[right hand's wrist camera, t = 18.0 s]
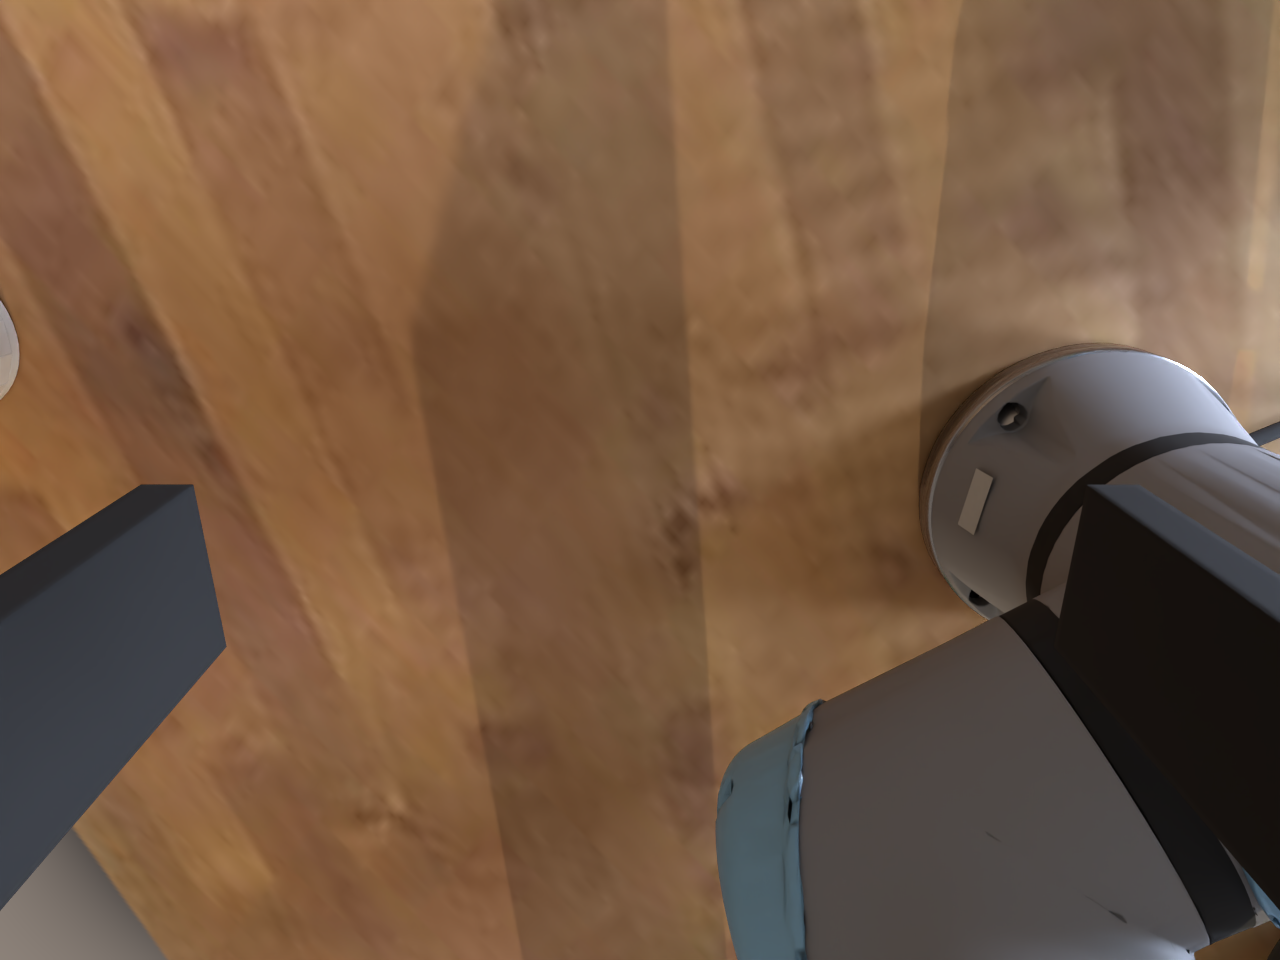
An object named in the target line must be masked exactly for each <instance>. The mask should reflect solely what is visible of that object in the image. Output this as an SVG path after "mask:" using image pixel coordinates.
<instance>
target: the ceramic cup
mask: <svg viewBox="0 0 1280 960" xmlns="http://www.w3.org/2000/svg"><path fill="white" fill-rule="evenodd" d="M19 356H20V354H19V343H18V338H17V334H16V331H15V328H14V325H13V322H12V320H11V318H10V316H9V314H8V312H7V310H6V308H5V307H4V305H3V303H2V302H1V301H0V399H2V398H3V397H4V395H5V394H6V393H7V392H8V391H9V389H10V387H11V386H12V384H13V382H14V380H15V377H16V375H17V371H18V367H19Z"/></svg>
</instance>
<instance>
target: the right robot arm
mask: <svg viewBox="0 0 1280 960" xmlns="http://www.w3.org/2000/svg"><path fill="white" fill-rule="evenodd" d="M1278 438H1280V422H1277V423H1275V424H1272V425H1270V426H1267V427H1265V428H1263V429H1260V430H1258V431H1255V432H1253V433H1250V434H1248V433H1247V432H1246V431H1245V429H1244V428H1243V427H1242V426H1241V425H1240V423H1239V422H1238V421H1237V419H1236V417H1235V416H1234V415H1233V414H1232V412H1231V410H1230V409H1229V407H1228V406H1227V404H1226V403H1225V402H1224V400H1223V399H1222V398H1221V397H1220V396H1219V394H1218V393H1217V392H1216V391H1215V390H1214V389H1213V388H1212V387H1211V386H1210V385H1209V384H1208V383H1207V382H1206V381H1205V380H1204V379H1202V378H1201V377H1200V376H1198V375H1197V374H1196V373H1194V372H1193V371H1191V370H1190V369H1188V368H1186V367H1184V366H1182V365H1180V364H1178V363H1176V362H1174V361H1171V360H1168V359H1166V358H1163V357H1161V356H1158V355H1155V354H1152V353H1150V352H1147V351H1144V350H1141V349H1138V348H1134V347H1130V346H1125V345H1118V344H1109V343H1086V344H1076V345H1069V346H1064V347H1060V348H1056V349H1051V350H1048V351H1045V352H1042V353H1039V354H1036V355H1033V356H1031V357H1029V358H1027V359H1024V360H1022V361H1020V362H1018V363H1016V364H1014V365H1012V366H1010V367H1009V368H1007V369H1005V370H1003V371H1002V372H1000V373H999V374H997V375H996V376H994V377H993V378H991V379H990V380H989V381H987V382H986V383H985V384H984V385H982V386H981V387H980V388H978V389H977V390H976V391H975V392H974V393H973V394H972V395H971V396H970V397H969V398H968V399H967V400H966V401H965V402H964V403H963V404H962V405H961V406H960V407H959V408H958V410H957V411H956V412H955V413H954V415H953V416H952V417H951V418H950V420H949V421H948V422H947V424H946V425H945V427H944V429H943V430H942V432H941V433H940V435H939V437H938V439H937V441H936V442H935V444H934V446H933V448H932V451H931V453H930V456H929V458H928V461H927V463H926V467H925V470H924V474H923V477H922V483H921V488H920V498H919V517H920V524H921V531H922V534H923V538H924V542H925V545H926V547H927V550H928V552H929V555H930V557H931V558H932V560H933V562H934V564H935V566H936V567H937V569H938V570H939V572H940V573H941V574H942V576H943V577H944V579H945V580H946V581H947V583H948V584H949V585H950V587H951V588H952V589H953V591H954V592H955V593H956V594H957V595H958V596H959V597H960V599H961V600H962V601H964V602H965V603H966V604H967V605H968V606H969V607H970V608H971V609H973V610H974V611H976V612H977V613H978V614H980V615H981V616H983V617H985V618H986V619H988V621H986V622H984V623H983V624H981V625H979V626H977V627H975V628H973V629H971V630H969V631H967V632H965V633H963V634H961V635H959V636H958V637H956V638H954V639H952V640H950V641H948V642H946V643H944V644H942V645H940V646H938V647H936V648H934V649H932V650H930V651H928V652H926V653H924V654H922V655H920V656H918V657H916V658H914V659H912V660H910V661H907V662H905V663H903V664H901V665H899V666H897V667H895V668H893V669H891V670H889V671H887V672H885V673H883V674H881V675H879V676H877V677H875V678H873V679H871V680H869V681H867V682H865V683H863V684H861V685H859V686H857V687H855V688H853V689H851V690H849V691H847V692H845V693H843V694H841V695H839V696H837V697H835V698H833V699H831V700H828V701H824V700H822V699H819V700H816V701H814V702H811V703H810V704H808V705H807V706H806V707H805V708H804V709H803V711H802V713H801V715H799V716H797V717H796V718H794V719H792V720H790V721H789V722H787V723H785V724H784V725H782V726H780V727H778V728H777V729H775V730H773V731H771V732H770V733H768V734H766V735H764V736H763V737H761V738H759V739H757V740H755V741H754V742H752V743H750V744H748V745H747V746H746V747H744V748H743V749H742V750H741V751H740V752H739V753H738V754H737V755H736V756H735V757H734V758H733V760H732V761H731V763H730V764H729V766H728V768H727V770H726V772H725V774H724V776H723V779H722V782H721V786H720V790H719V794H718V804H717V819H716V850H717V862H718V870H719V878H720V884H721V890H722V896H723V902H724V907H725V911H726V916H727V921H728V925H729V929H730V933H731V937H732V941H733V945H734V949H735V952H736V956H737V959H738V960H1195V958H1194V952H1196V951H1198V950H1200V949H1202V948H1204V947H1206V946H1208V945H1211V944H1213V943H1214V942H1217V941H1219V940H1222V939H1224V938H1227V937H1229V936H1232V935H1234V934H1237V933H1239V932H1242V931H1244V930H1247V929H1249V928H1252V927H1256V926H1259V925H1261V924H1263V923H1266V922H1268V921H1272V923H1273V924H1274V925H1275V926H1276V927H1277V928H1279V929H1280V455H1278V454H1275V453H1273V452H1271V451H1269V450H1266V449H1264V448H1262V447H1260V446H1261V445H1263V444H1266V443H1268V442H1271V441H1273V440H1276V439H1278ZM225 648H226V642H225V637H224V632H223V627H222V622H221V618H220V613H219V608H218V603H217V598H216V593H215V588H214V583H213V579H212V574H211V569H210V564H209V559H208V554H207V549H206V545H205V540H204V535H203V530H202V525H201V520H200V515H199V510H198V506H197V501H196V496H195V491H194V486H193V485H140V486H138V487H137V488H135V489H133V490H132V491H130V492H129V493H127V494H126V495H124V496H123V497H121V498H119V499H118V500H116V501H115V502H113V503H112V504H110V505H109V506H107V507H105V508H104V509H102V510H101V511H99V512H98V513H96V514H95V515H93V516H91V517H90V518H88V519H87V520H85V521H84V522H82V523H81V524H79V525H77V526H76V527H74V528H73V529H71V530H70V531H68V532H67V533H65V534H63V535H62V536H60V537H59V538H57V539H56V540H54V541H53V542H51V543H49V544H48V545H46V546H45V547H43V548H42V549H40V550H39V551H37V552H35V553H34V554H32V555H31V556H29V557H28V558H26V559H25V560H23V561H21V562H20V563H18V564H17V565H15V566H14V567H12V568H11V569H9V570H7V571H6V572H4V573H3V574H1V575H0V910H1V909H2V908H3V907H4V906H5V904H6V903H7V902H8V901H9V900H10V899H11V898H12V896H13V895H14V894H15V893H16V892H17V891H18V889H19V888H20V887H21V886H22V885H23V883H24V882H25V881H26V880H27V879H28V878H29V876H30V875H31V874H32V873H33V872H34V871H35V869H36V868H37V867H38V866H39V865H40V864H41V862H42V861H43V860H44V859H45V858H46V857H47V855H48V854H49V853H50V852H51V851H52V850H53V849H54V847H55V846H56V845H57V844H58V843H59V841H60V840H61V839H62V838H63V837H64V836H65V835H66V833H67V832H68V831H69V830H70V829H71V828H72V826H73V825H74V824H75V823H76V822H77V821H78V819H79V818H80V817H81V816H82V815H83V814H84V812H85V811H86V810H87V809H88V808H89V807H90V805H91V804H92V803H93V802H94V801H95V800H96V798H97V797H98V796H99V795H100V794H101V792H102V791H103V790H104V789H105V788H106V787H107V785H108V784H109V783H110V782H111V781H112V780H113V778H114V777H115V776H116V775H117V774H118V773H119V771H120V770H121V769H122V768H123V767H124V766H125V764H126V763H127V762H128V761H129V760H130V759H131V757H132V756H133V755H134V754H135V753H136V752H137V750H138V749H139V748H140V747H141V746H142V745H143V743H144V742H145V741H146V740H147V739H148V738H149V736H150V735H151V734H152V733H153V732H154V731H155V729H156V728H157V727H158V726H159V725H160V724H161V722H162V721H163V720H164V719H165V718H166V717H167V715H168V714H169V713H170V712H171V711H172V710H173V708H174V707H175V706H176V705H177V704H178V703H179V701H180V700H181V699H182V698H183V697H184V696H185V694H186V693H187V692H188V691H189V690H190V689H191V687H192V686H193V685H194V684H195V683H196V682H197V680H198V679H199V678H200V677H201V676H202V675H203V673H204V672H205V671H206V670H207V669H208V668H209V666H210V665H211V664H212V663H213V662H214V661H215V659H216V658H217V657H218V656H219V655H220V654H221V652H222V651H223V650H224V649H225Z"/></svg>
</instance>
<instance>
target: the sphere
mask: <svg viewBox="0 0 1280 960" xmlns="http://www.w3.org/2000/svg"><path fill="white" fill-rule="evenodd" d="M1267 960H1280V940H1279V941H1278V942H1277V944H1276V945H1275V947H1274V949H1273V950H1272V952H1271V953H1270V955H1269V957H1268V959H1267Z"/></svg>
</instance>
